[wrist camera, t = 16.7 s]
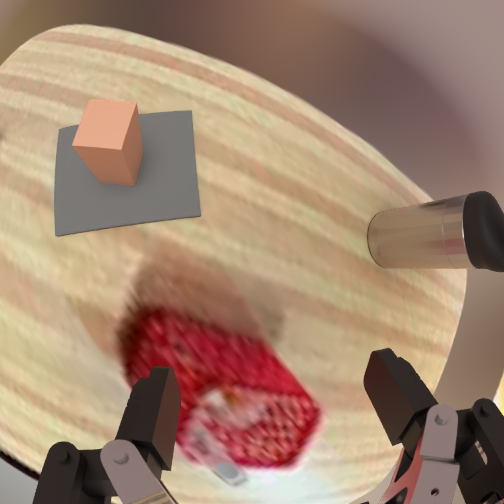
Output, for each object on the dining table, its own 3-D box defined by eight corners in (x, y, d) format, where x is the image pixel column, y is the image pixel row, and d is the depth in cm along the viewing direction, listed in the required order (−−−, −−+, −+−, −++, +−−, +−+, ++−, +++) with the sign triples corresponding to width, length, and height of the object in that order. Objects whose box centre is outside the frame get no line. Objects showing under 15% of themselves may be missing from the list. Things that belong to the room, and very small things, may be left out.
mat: (190, 113, 31) (191, 110, 31) (200, 216, 31) (201, 215, 31) (61, 131, 26) (59, 129, 25) (57, 236, 26) (55, 235, 25)
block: (143, 150, 29) (137, 101, 18) (135, 186, 28) (121, 149, 18) (109, 146, 27) (90, 98, 17) (99, 182, 27) (71, 145, 17)
